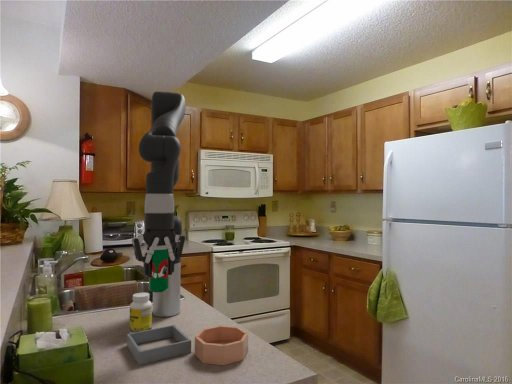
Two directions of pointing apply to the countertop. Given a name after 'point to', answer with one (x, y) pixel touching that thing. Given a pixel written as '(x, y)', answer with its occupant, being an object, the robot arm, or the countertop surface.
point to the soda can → (159, 269)
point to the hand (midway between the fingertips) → (158, 275)
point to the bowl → (221, 345)
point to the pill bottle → (140, 313)
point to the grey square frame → (162, 351)
